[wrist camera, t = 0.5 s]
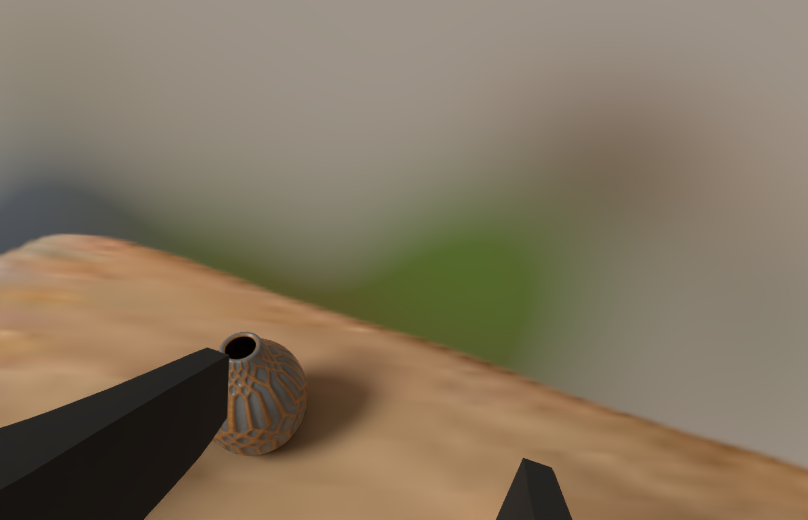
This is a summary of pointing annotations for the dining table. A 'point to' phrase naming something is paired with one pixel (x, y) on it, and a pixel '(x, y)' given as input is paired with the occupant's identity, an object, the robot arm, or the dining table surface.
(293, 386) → the vase
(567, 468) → the dining table surface
